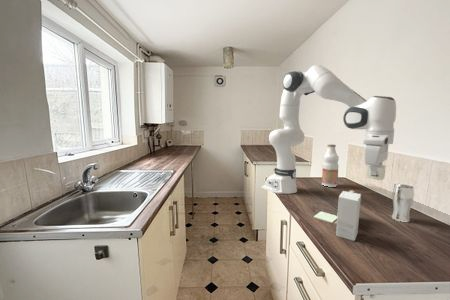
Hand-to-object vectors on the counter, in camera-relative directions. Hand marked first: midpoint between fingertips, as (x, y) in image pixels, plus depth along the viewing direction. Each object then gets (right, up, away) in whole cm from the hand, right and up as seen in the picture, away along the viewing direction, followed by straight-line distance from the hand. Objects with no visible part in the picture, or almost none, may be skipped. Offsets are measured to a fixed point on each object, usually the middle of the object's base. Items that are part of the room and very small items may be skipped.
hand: (375, 173), depth 84 cm
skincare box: (-13, -23, -3) cm, 27 cm away
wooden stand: (-7, -21, +8) cm, 24 cm away
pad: (-14, -21, +12) cm, 28 cm away
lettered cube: (0, -2, 0) cm, 2 cm away
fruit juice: (+11, -15, +59) cm, 62 cm away
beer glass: (+17, -21, +9) cm, 29 cm away
